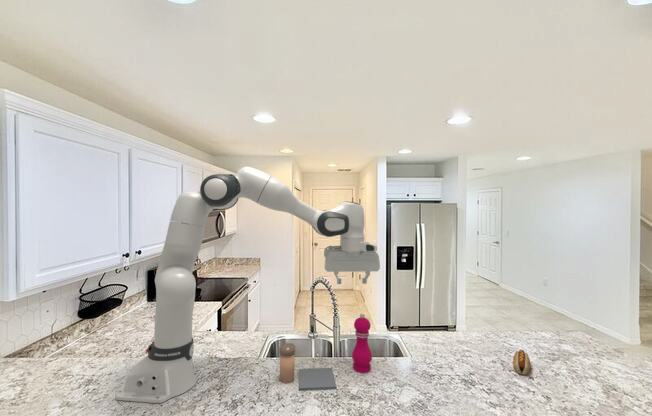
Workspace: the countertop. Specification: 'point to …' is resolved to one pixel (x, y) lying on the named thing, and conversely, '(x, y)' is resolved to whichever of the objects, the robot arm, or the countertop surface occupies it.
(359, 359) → the pepper mill
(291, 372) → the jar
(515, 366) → the food
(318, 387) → the pad
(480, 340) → the countertop surface
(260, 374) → the countertop surface
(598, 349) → the countertop surface
